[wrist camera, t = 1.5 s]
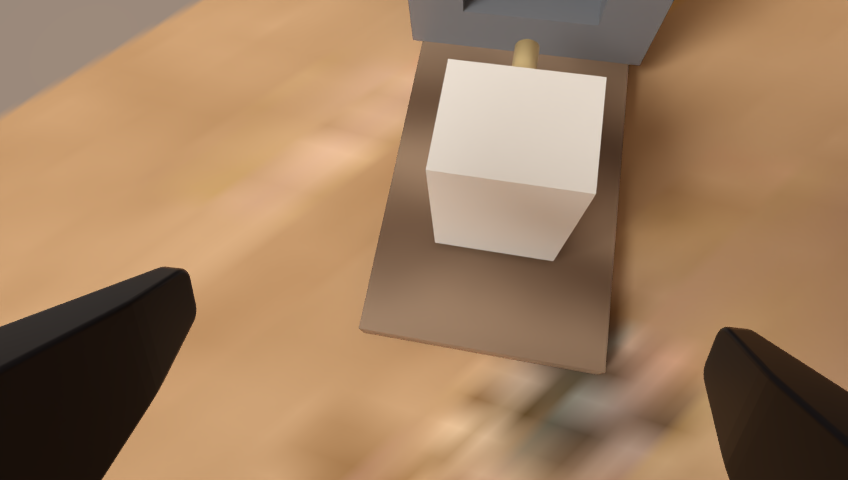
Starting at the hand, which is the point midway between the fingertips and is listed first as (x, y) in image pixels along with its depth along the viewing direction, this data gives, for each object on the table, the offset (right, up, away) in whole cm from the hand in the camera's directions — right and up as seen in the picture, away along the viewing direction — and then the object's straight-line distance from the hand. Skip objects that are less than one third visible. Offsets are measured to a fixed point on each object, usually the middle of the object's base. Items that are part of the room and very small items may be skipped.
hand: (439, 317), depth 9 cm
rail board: (+4, +6, +16) cm, 18 cm away
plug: (+3, +4, +14) cm, 15 cm away
